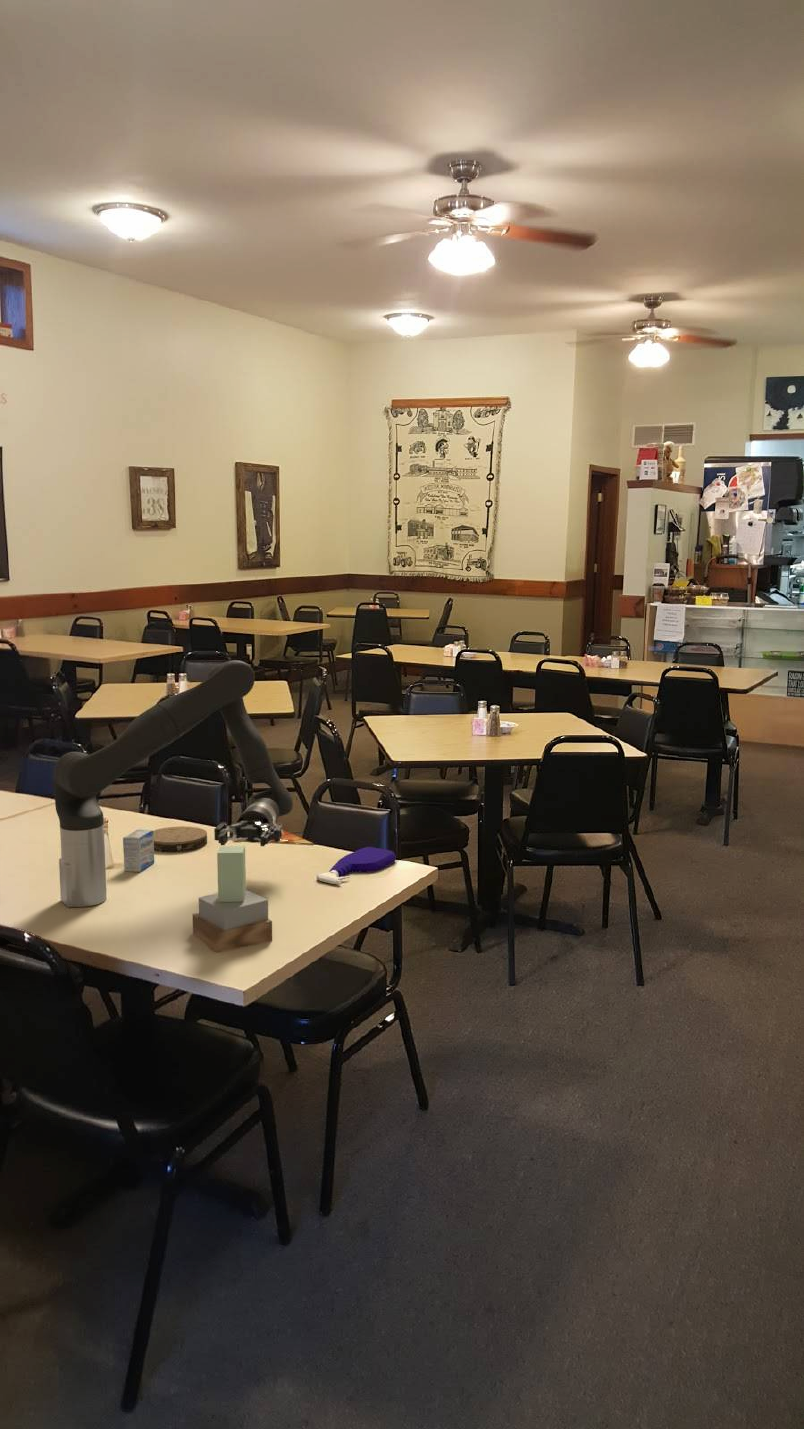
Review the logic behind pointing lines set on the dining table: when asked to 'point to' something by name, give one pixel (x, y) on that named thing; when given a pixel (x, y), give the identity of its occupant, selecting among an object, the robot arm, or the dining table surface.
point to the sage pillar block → (231, 874)
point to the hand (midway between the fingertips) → (242, 841)
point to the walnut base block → (231, 934)
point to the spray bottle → (358, 864)
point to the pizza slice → (290, 837)
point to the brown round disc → (179, 839)
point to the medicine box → (138, 850)
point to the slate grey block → (233, 911)
